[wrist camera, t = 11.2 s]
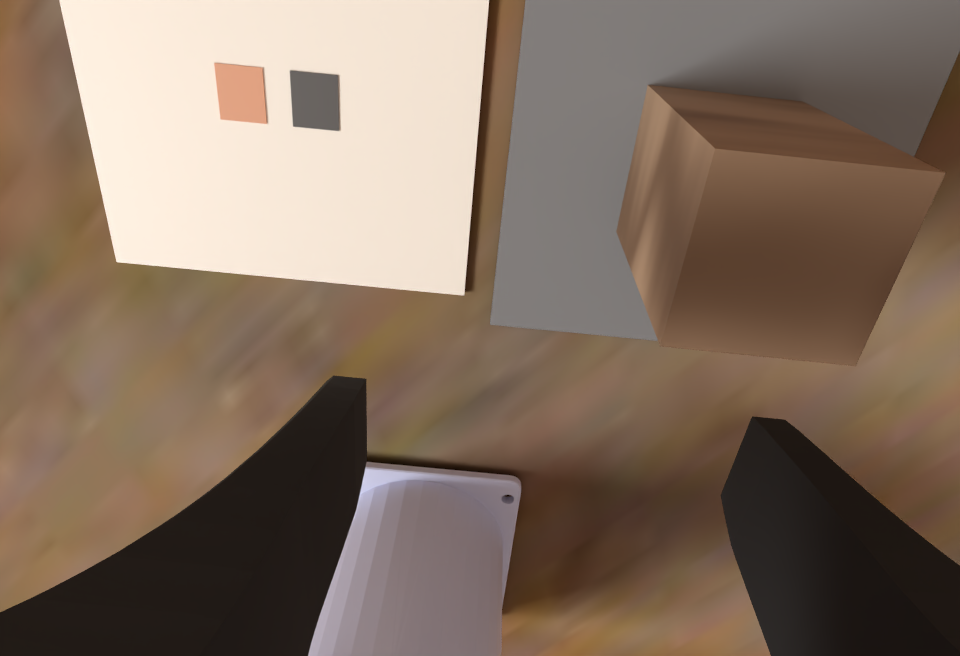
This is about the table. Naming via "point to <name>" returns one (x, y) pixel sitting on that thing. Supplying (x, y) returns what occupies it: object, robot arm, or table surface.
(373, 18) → the cream mat
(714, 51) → the grey mat
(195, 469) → the table surface
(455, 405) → the table surface
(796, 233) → the walnut block
